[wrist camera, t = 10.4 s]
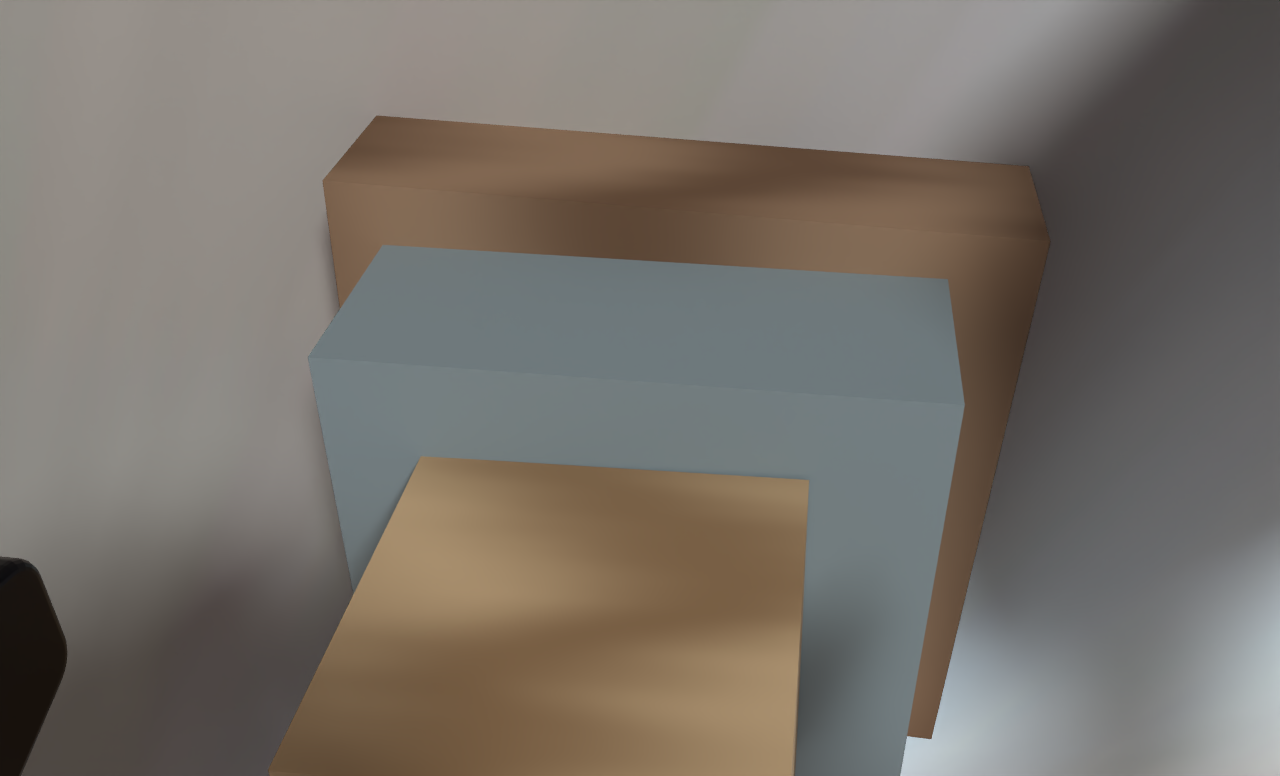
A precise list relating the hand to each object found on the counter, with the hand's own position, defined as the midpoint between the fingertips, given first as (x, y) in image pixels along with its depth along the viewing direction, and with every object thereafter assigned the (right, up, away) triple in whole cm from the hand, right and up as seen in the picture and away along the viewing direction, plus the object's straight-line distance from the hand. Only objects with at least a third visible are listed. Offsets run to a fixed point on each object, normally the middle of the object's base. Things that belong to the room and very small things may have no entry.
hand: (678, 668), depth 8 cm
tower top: (0, 0, +11) cm, 11 cm away
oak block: (0, -1, +9) cm, 9 cm away
